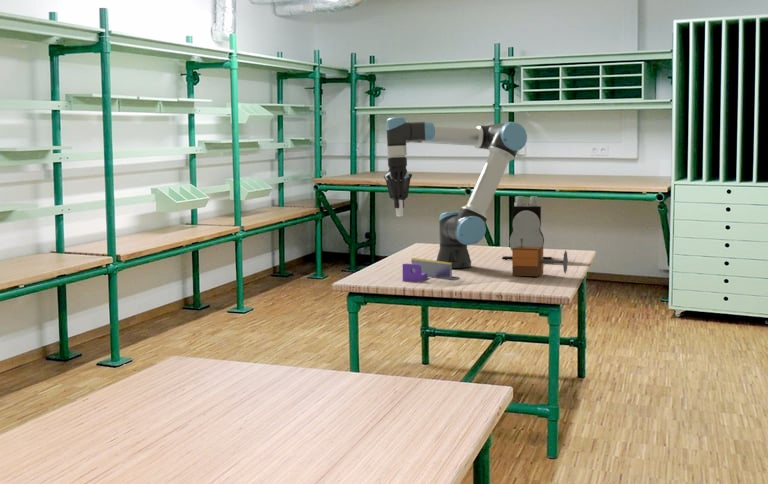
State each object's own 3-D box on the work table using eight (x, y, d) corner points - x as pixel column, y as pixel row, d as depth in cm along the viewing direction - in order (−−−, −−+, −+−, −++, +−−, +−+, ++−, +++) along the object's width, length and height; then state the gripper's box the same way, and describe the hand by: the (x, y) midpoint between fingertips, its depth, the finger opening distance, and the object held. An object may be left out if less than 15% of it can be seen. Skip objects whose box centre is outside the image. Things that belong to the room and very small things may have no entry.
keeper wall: (421, 273, 350) (421, 257, 350) (459, 278, 331) (459, 261, 330) (411, 274, 348) (411, 258, 347) (449, 279, 328) (449, 262, 328)
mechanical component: (552, 259, 399) (553, 195, 396) (550, 264, 378) (551, 196, 376) (505, 259, 404) (505, 195, 401) (501, 264, 383) (501, 196, 381)
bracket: (420, 282, 324) (420, 264, 324) (402, 282, 326) (402, 264, 325) (427, 278, 336) (427, 261, 335) (410, 278, 338) (410, 260, 337)
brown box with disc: (562, 277, 334) (562, 240, 333) (512, 275, 342) (512, 239, 340) (568, 274, 344) (568, 238, 342) (518, 272, 351) (518, 237, 350)
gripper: (403, 156, 347) (406, 215, 349) (378, 157, 339) (381, 217, 341) (415, 156, 341) (418, 215, 343) (390, 157, 333) (392, 217, 335)
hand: (399, 216), depth 342 cm, fingers closed
